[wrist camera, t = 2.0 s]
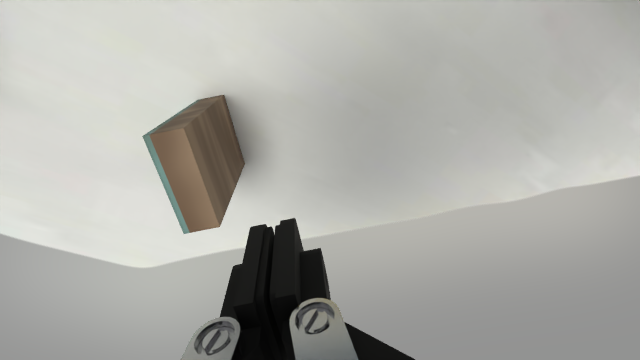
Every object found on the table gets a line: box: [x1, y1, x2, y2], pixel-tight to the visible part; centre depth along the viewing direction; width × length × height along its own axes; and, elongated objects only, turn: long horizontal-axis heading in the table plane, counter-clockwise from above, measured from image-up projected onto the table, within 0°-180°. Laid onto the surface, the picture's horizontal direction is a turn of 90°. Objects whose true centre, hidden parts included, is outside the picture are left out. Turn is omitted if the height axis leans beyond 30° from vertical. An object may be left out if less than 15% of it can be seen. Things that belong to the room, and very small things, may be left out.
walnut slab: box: [143, 95, 245, 234], centre depth 26 cm, size 2×7×12 cm, turn 11°
